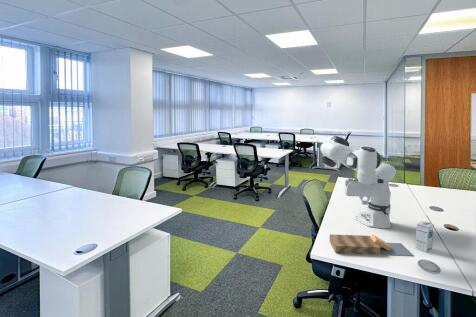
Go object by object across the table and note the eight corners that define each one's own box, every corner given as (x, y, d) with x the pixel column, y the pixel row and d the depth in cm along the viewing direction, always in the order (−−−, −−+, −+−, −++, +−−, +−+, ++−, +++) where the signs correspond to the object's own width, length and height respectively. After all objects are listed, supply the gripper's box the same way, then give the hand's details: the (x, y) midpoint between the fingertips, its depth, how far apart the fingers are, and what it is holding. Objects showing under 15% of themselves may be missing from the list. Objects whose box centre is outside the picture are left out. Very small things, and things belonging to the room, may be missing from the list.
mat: (380, 254, 145) (380, 254, 145) (370, 242, 159) (370, 241, 159) (413, 256, 144) (413, 255, 143) (400, 243, 157) (400, 243, 157)
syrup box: (426, 252, 147) (429, 226, 145) (414, 248, 152) (416, 222, 150) (431, 250, 150) (434, 223, 148) (419, 245, 155) (422, 220, 153)
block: (374, 242, 148) (376, 239, 148) (370, 237, 154) (372, 234, 154) (389, 251, 148) (391, 247, 148) (384, 245, 154) (386, 242, 154)
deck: (335, 253, 147) (335, 245, 146) (329, 241, 161) (329, 234, 160) (379, 254, 145) (380, 247, 144) (369, 242, 159) (370, 235, 158)
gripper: (347, 179, 145) (345, 205, 147) (389, 180, 143) (387, 206, 145) (343, 176, 151) (342, 202, 153) (384, 177, 149) (382, 203, 151)
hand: (364, 204), depth 149 cm, fingers closed
